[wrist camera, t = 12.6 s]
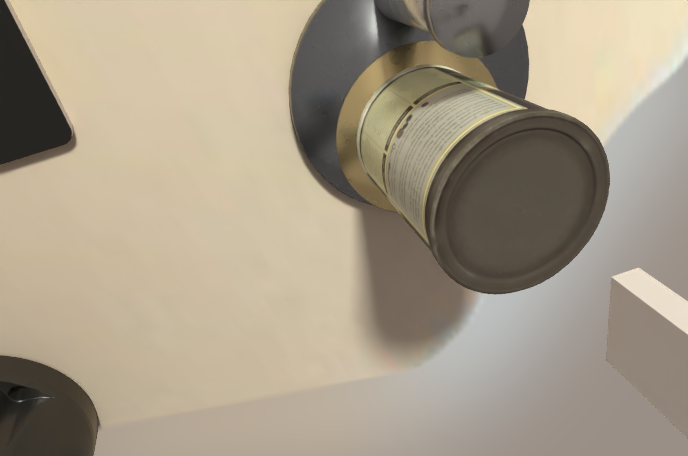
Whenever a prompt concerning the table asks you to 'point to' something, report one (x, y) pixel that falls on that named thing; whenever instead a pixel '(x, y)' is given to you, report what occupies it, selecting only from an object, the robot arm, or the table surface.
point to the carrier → (391, 68)
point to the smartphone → (26, 96)
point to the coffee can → (484, 176)
